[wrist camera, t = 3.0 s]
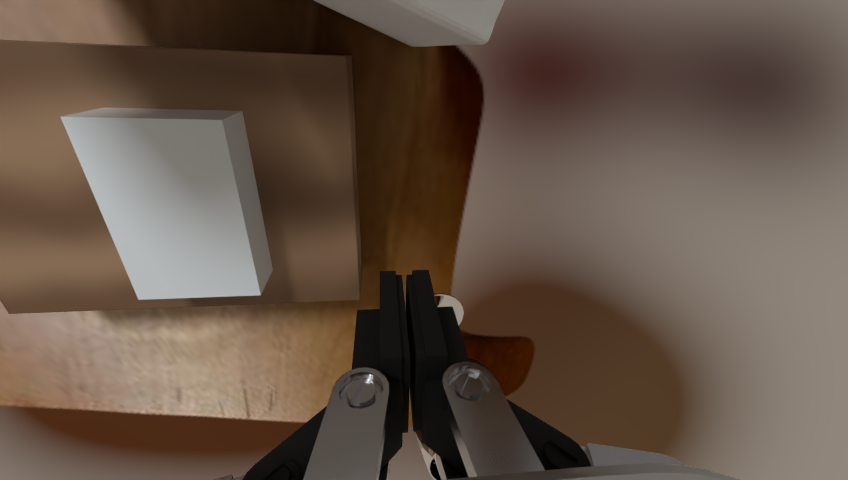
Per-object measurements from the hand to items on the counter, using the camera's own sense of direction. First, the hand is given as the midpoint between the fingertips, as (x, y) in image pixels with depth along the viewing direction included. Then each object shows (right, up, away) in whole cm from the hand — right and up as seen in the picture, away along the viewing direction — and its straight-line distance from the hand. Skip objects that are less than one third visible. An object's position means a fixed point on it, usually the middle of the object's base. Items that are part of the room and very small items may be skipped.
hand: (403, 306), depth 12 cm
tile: (-11, +4, +6) cm, 13 cm away
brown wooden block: (-14, +6, +10) cm, 18 cm away
